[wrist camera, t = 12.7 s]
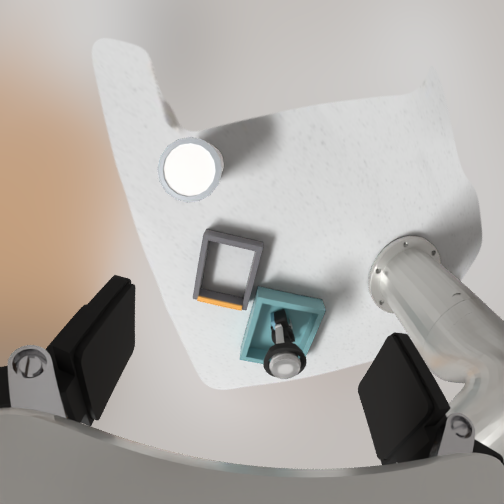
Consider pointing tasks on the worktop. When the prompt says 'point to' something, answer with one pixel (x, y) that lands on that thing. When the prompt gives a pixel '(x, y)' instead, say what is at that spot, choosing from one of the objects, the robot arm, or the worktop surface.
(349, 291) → the worktop surface
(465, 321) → the robot arm
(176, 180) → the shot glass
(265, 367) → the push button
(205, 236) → the box
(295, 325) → the tray
